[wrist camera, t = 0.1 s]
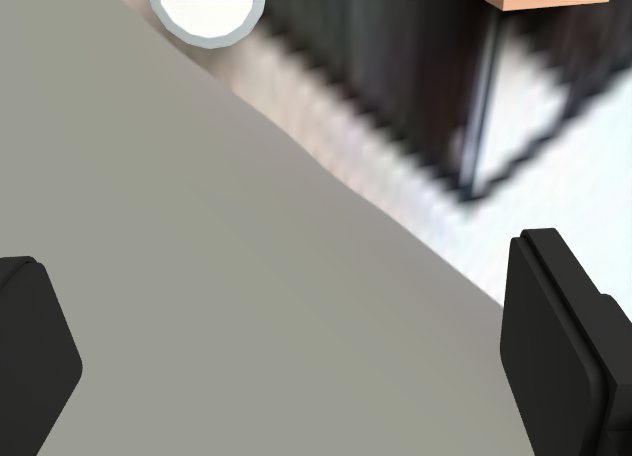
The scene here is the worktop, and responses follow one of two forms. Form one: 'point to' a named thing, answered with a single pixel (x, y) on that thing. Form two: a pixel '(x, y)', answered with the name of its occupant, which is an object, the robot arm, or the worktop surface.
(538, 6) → the cardboard box
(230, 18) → the shot glass
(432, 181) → the worktop surface
